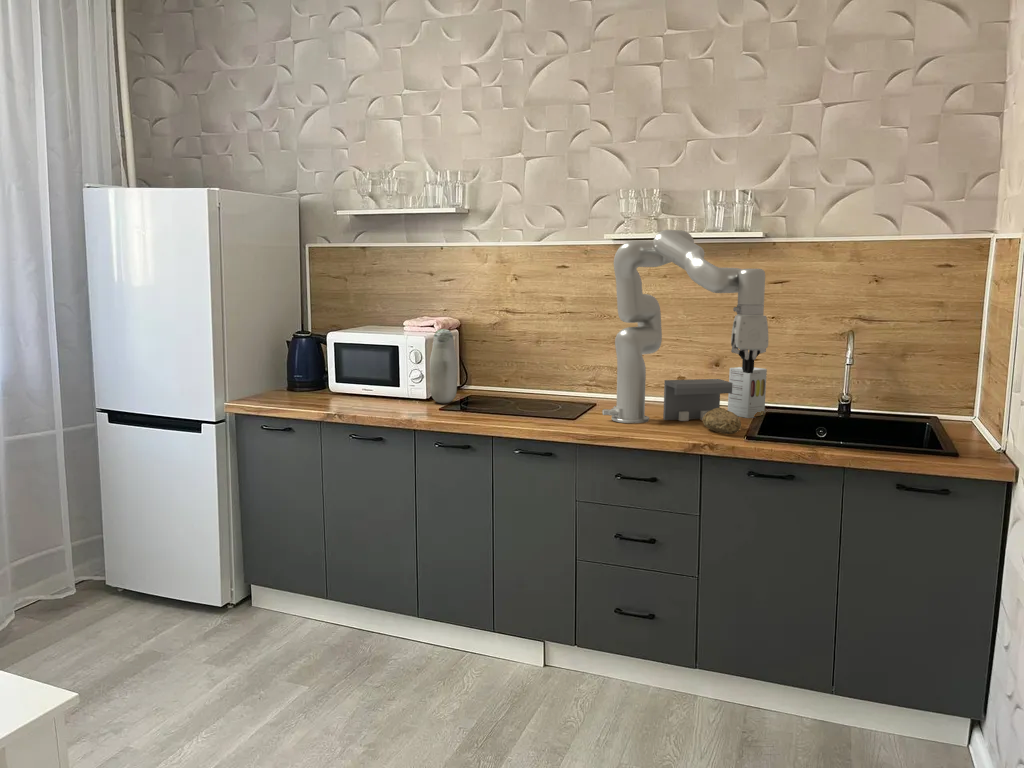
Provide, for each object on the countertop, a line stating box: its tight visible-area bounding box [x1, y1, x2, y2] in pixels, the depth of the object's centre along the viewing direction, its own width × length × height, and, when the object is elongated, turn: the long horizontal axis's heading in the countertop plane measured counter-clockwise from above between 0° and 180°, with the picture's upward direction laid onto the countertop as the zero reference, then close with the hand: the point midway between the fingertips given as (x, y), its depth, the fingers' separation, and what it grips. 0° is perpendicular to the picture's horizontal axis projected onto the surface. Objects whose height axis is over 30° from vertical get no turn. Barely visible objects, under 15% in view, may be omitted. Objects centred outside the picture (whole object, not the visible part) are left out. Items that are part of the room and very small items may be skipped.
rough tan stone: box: [702, 407, 742, 435], centre depth 267 cm, size 13×8×20 cm
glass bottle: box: [429, 328, 458, 404], centre depth 315 cm, size 10×10×28 cm
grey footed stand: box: [662, 378, 732, 422], centre depth 283 cm, size 20×10×14 cm, turn 103°
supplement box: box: [727, 366, 768, 419], centre depth 294 cm, size 10×9×17 cm
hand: (747, 372), depth 249 cm, fingers closed
